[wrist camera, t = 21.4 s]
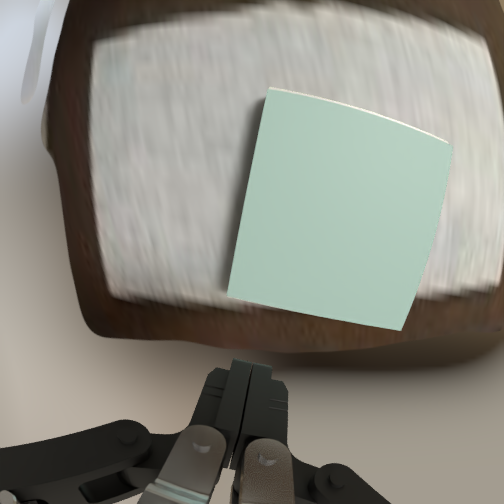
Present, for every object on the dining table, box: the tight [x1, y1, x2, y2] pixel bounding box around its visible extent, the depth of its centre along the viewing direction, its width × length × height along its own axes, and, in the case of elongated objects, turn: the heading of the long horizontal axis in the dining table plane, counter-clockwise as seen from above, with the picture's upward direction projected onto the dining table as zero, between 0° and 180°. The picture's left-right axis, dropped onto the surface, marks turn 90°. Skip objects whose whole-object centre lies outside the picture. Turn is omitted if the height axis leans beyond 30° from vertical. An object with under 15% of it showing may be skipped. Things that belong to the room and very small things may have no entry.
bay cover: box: [227, 89, 453, 331], centre depth 23 cm, size 18×17×1 cm
